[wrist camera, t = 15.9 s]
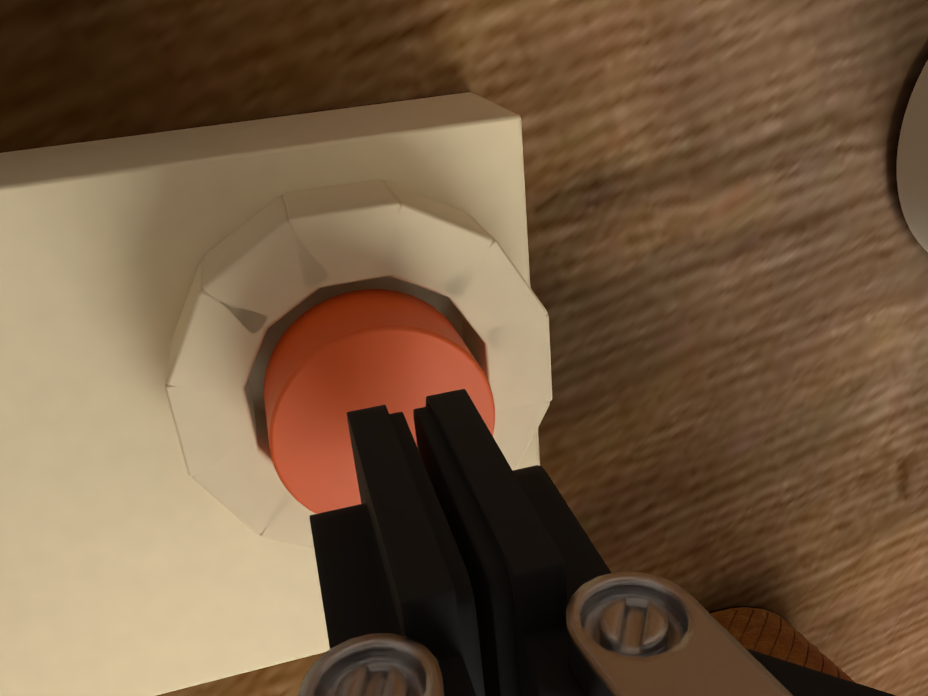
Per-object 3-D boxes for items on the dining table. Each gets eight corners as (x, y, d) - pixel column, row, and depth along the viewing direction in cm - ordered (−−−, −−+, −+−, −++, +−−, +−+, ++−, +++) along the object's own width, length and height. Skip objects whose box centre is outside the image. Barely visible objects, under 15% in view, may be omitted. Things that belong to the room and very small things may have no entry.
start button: (244, 308, 14) (247, 351, 12) (459, 271, 14) (487, 307, 13) (283, 492, 15) (291, 551, 14) (475, 450, 16) (503, 501, 14)
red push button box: (-219, 180, 15) (-398, 266, 11) (472, 90, 18) (555, 130, 13) (-18, 638, 20) (-86, 827, 16) (505, 515, 22) (575, 648, 18)
